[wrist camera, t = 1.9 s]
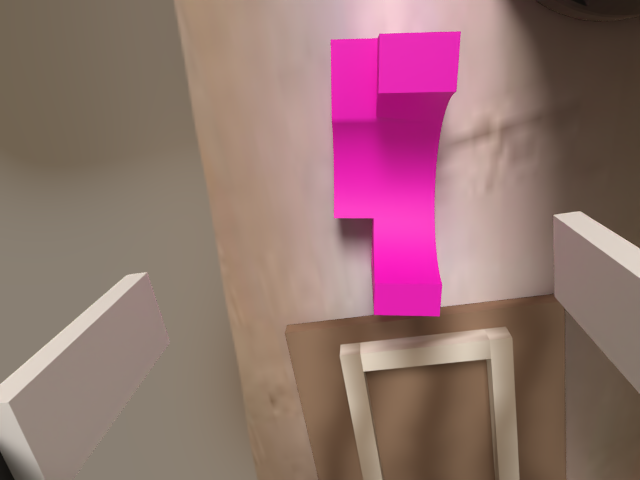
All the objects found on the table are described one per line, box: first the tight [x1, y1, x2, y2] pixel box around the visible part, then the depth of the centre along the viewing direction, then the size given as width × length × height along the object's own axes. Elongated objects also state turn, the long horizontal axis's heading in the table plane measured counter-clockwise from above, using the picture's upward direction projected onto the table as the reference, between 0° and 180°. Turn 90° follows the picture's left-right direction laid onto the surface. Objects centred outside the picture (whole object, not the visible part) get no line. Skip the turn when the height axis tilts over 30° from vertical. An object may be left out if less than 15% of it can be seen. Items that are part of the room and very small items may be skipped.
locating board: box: [285, 294, 566, 480], centre depth 37 cm, size 20×24×3 cm
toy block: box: [331, 31, 461, 316], centre depth 28 cm, size 15×6×8 cm, turn 1°
